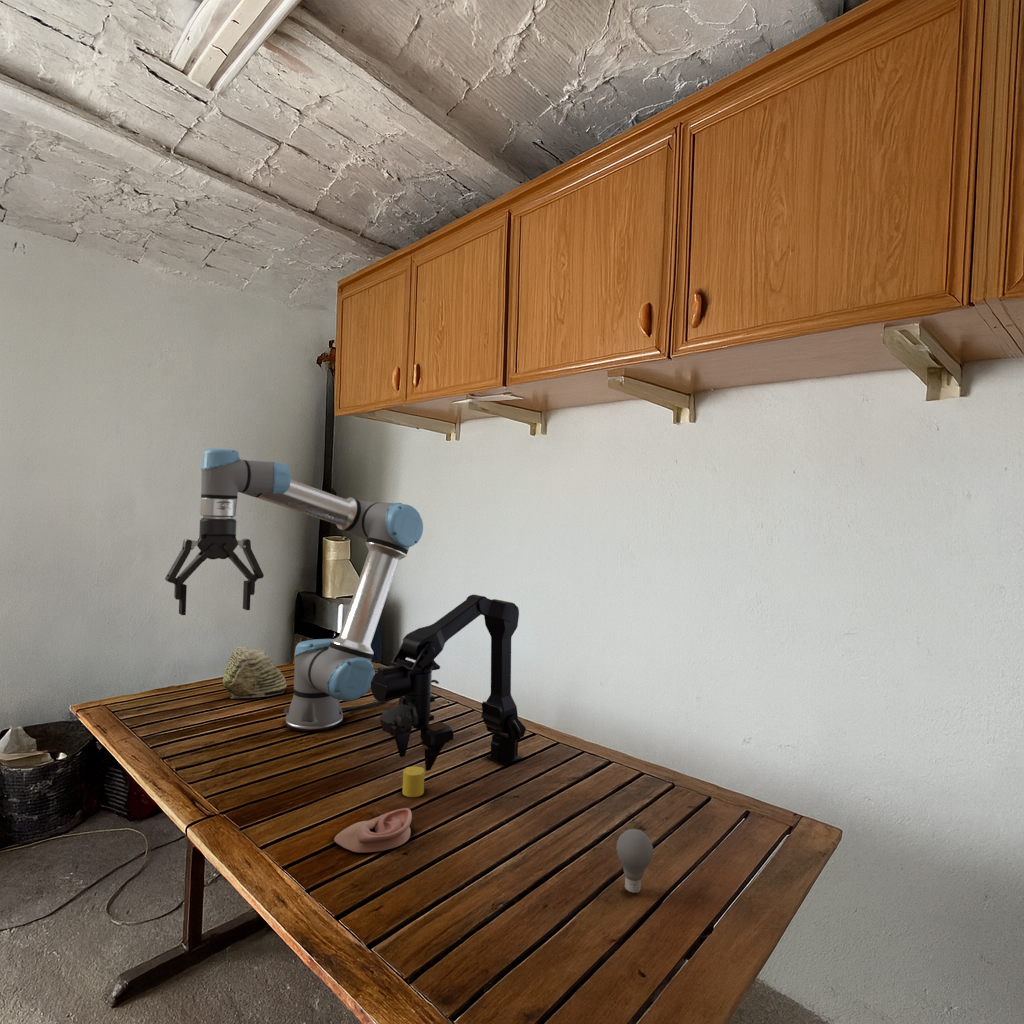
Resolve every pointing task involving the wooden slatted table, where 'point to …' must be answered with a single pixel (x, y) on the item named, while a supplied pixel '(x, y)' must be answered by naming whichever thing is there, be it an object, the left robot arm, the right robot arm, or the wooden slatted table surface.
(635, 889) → the light bulb
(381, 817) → the anatomical model
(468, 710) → the wooden slatted table surface
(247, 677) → the fossil
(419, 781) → the canister
